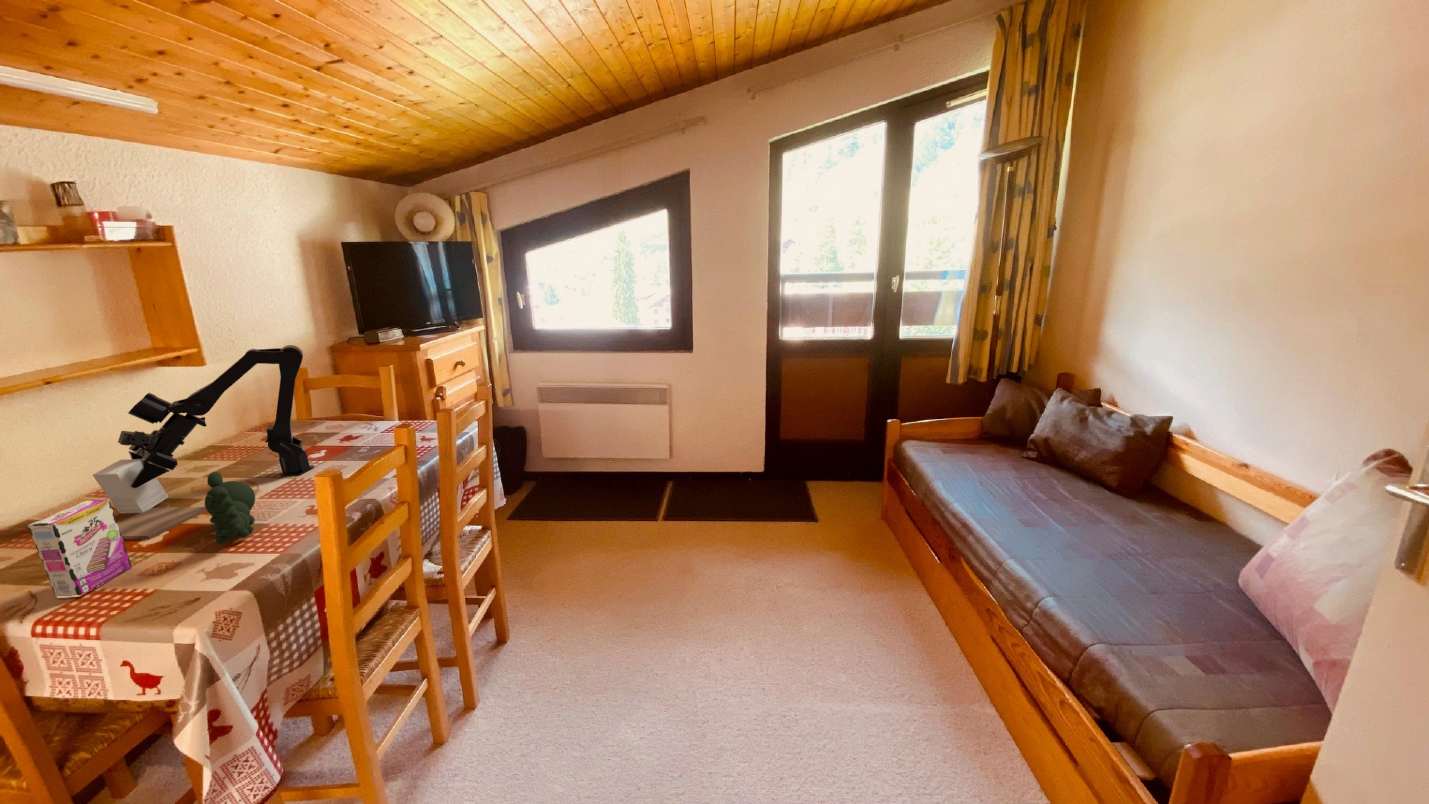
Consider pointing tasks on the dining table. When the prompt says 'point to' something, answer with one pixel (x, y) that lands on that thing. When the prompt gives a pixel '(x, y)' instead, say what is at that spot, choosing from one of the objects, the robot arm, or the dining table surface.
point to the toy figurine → (229, 507)
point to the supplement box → (129, 487)
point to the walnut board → (156, 521)
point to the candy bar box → (80, 547)
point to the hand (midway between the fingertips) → (128, 483)
